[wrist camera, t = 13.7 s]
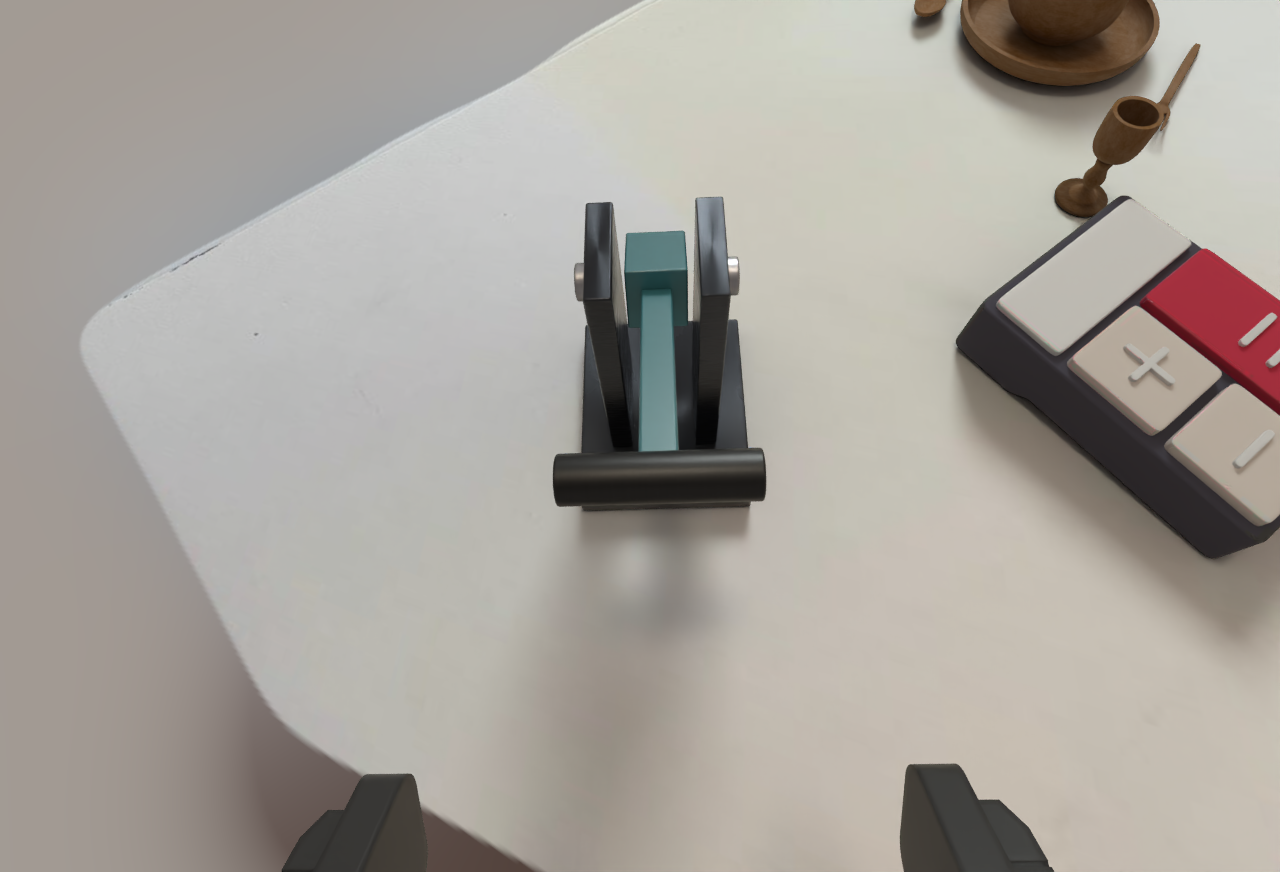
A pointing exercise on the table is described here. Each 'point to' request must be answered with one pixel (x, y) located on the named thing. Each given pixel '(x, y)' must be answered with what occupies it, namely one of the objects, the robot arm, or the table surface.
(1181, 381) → the calculator
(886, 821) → the table surface
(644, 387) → the lever
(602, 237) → the bracket
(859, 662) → the table surface
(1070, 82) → the place setting
